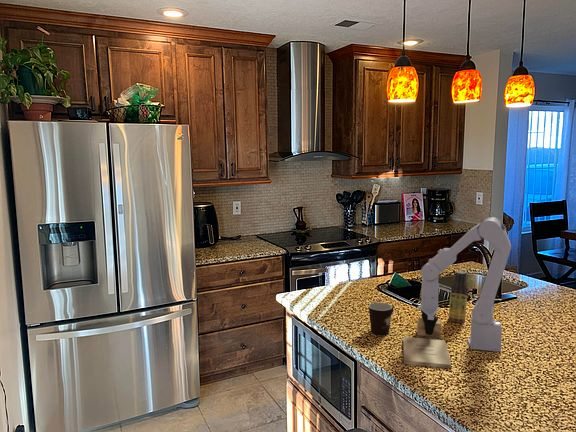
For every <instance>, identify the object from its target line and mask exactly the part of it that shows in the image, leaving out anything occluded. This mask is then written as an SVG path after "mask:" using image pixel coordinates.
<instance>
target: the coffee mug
mask: <svg viewBox="0 0 576 432" xmlns="http://www.w3.org/2000/svg"><path fill="white" fill-rule="evenodd" d="M394 309H395V308H394V306H393V305H391V304H389V303H387V302H381V301H380V302H379V301H378V302H370V303H369V304H368V314H369V323H370V331H371V333H372V334H373V335H375V336H379V337H381V336H383V337H384V336H387V335H389V334H390V329H391V328H390V326H391V321H392V320H391V319H392V315H393V313H394Z"/></svg>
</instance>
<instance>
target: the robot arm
mask: <svg viewBox="0 0 576 432" xmlns="http://www.w3.org/2000/svg"><path fill="white" fill-rule="evenodd" d="M483 239H484V240H485V241H487V242H488V243H489V244H490V246H491V247H492V248H493V251H494V252H493V254H492V258H491V260H490V264H489V268H488V271H487V273H486V276H485V279H484V283H483V286H482V289H481V293H480V296H479V298H478V299H477V300H476V301H475V302H474V307H473V308H472V310H471V319H470V338H469V337H468V338H467V342H468V345H469V348H470V349H471V350H479V351H490V352H499V353H500V352H502V341H503V340H502V339H503V338H502V337H503V327H502V324H501V322H500V321H496V320H495V319H494V317H493V315H494V312H495V309H496V308H495V299H496V296H497V292H498V289H499V287H500V284H501V281H502V279H503V275H504V272H505V269H506V266H507V262H508V259H509V256H510V253H511V250H512V243H511V241H510V238H509V235H508V233H507V228H506V226H505V225H504V223H503V222H502V221H501V220H500V219H499V218H497V217H494V216H490V217H489V216H488V217H487V218H485V219H484V220H483V221H482V223H481V222H479V223H478V224H476V225H474V226H473V227H472V228H470V229H469V230H468V231H467V232H466V233H465V234H464V235H463V236H462V237H460V238H459V239H458V240H457V241H456V242H455V243H454V244H453V245H452V246H451V247H444V248H442V249H441V248H440V249H439V250H438V251H437V254H436V255H435V256H433V257H432V258H429V259H428V262H427V263H425V264H424V265H423V266H422V267H421V269H420V275H421V277H422V282H421V297H420V298H421V303H420V304H421V305H418V306H417V310H420V312H421V318H422V319H423V321H424V324H425V331H426V334H428V335H432V334H433V330H434V326H435V324H436V322H437V321H438V320H439V316H436V315H437V313H438V312H439V290H440V289H439V276H440V274H441V273H443V272H444V271H446V270H447V269H448V268H449V267H450V266H451V265H453V264H454V263H455V262H456V261H457V256H458V254H459V253H460V252H462V251H464V249H465V248H467V247H468V246H469V245H471V244H472V243H473V242H478V241H482V240H483Z"/></svg>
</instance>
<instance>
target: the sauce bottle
mask: <svg viewBox="0 0 576 432" xmlns="http://www.w3.org/2000/svg"><path fill="white" fill-rule="evenodd" d="M454 276H455V278H454V282H453V284H452V285H451V288H450V294H449V307H448V320H449V321H450V322H452V323H459V324H460V323H464V322H465V321H466V316H467V304H468V287H467V285H466V277H467V272H466V271H463V270H455V273H454Z"/></svg>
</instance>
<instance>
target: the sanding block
mask: <svg viewBox="0 0 576 432" xmlns="http://www.w3.org/2000/svg"><path fill="white" fill-rule="evenodd" d="M416 335H417V337H416V338H426V339H438V340H442V338H441V337H442V322H441V319H438V321H437V322H436V324H435V326H434V330H433V334H432V335H428V334H426V331H425V324H424V321H423V319H422V317H417V318H416Z"/></svg>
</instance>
